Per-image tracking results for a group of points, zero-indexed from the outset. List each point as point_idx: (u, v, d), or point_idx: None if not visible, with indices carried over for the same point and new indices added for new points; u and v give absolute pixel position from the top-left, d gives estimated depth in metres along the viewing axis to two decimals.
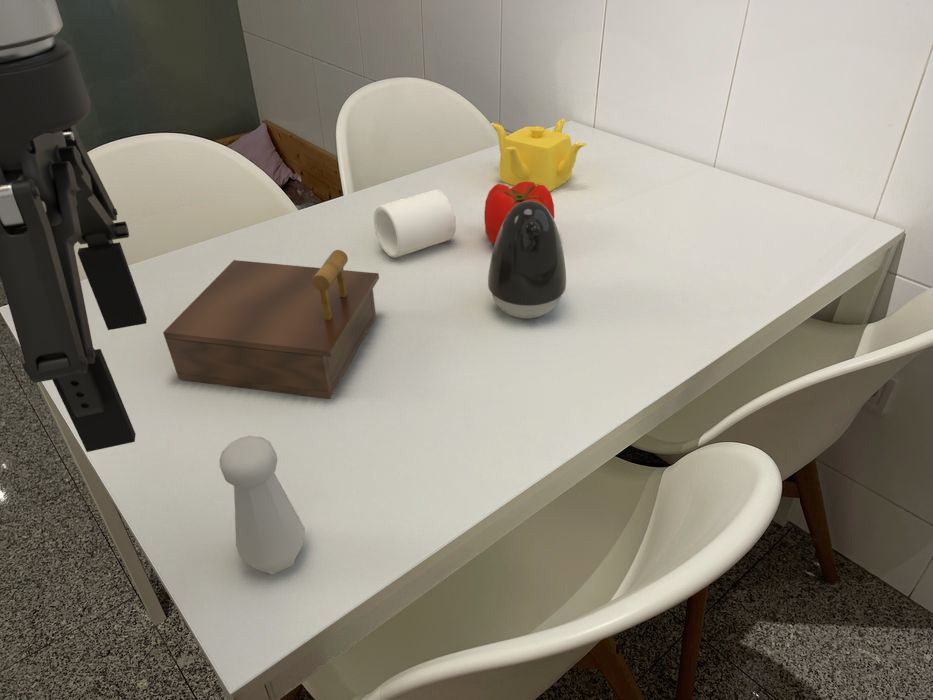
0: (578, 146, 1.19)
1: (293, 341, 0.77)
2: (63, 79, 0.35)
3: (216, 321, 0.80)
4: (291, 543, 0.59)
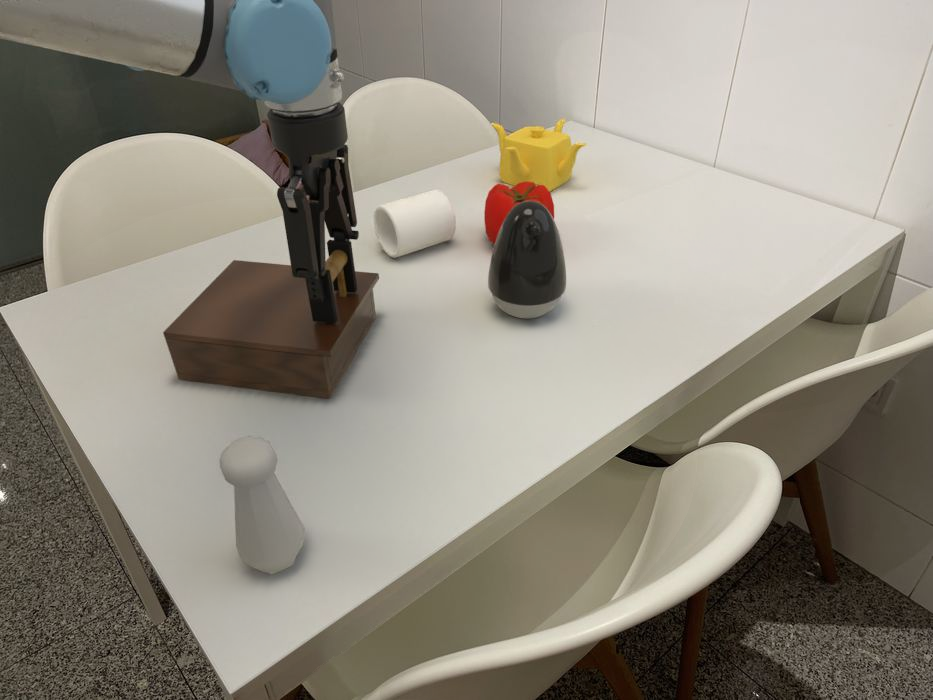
0: (578, 146, 1.19)
1: (293, 341, 0.77)
2: (332, 128, 0.67)
3: (216, 321, 0.80)
4: (291, 543, 0.59)
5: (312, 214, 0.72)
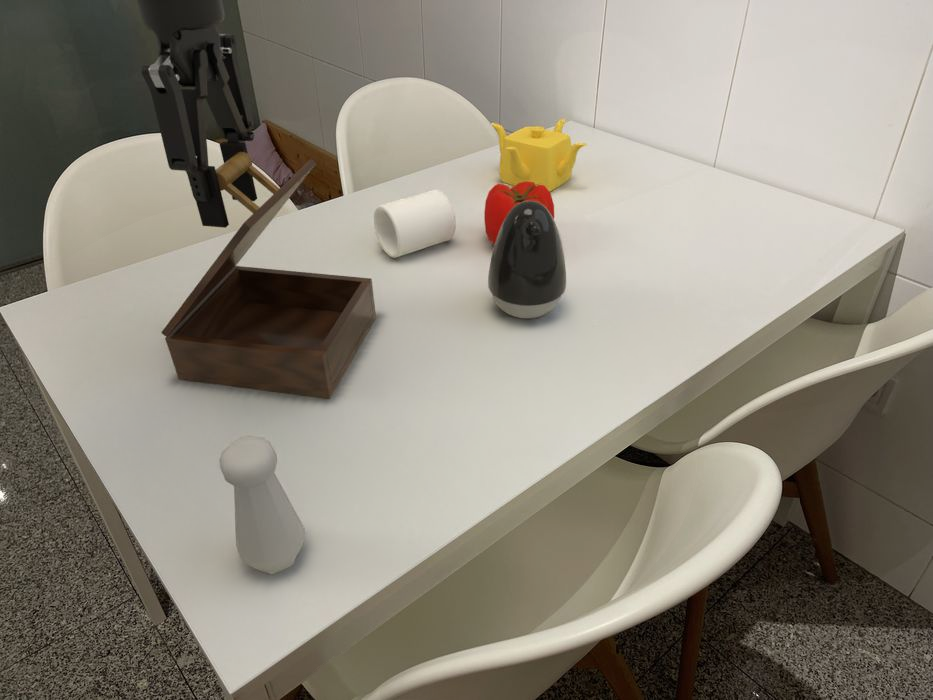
0: (578, 146, 1.19)
1: None
2: (200, 0, 0.63)
3: None
4: (291, 543, 0.59)
5: (189, 101, 0.67)
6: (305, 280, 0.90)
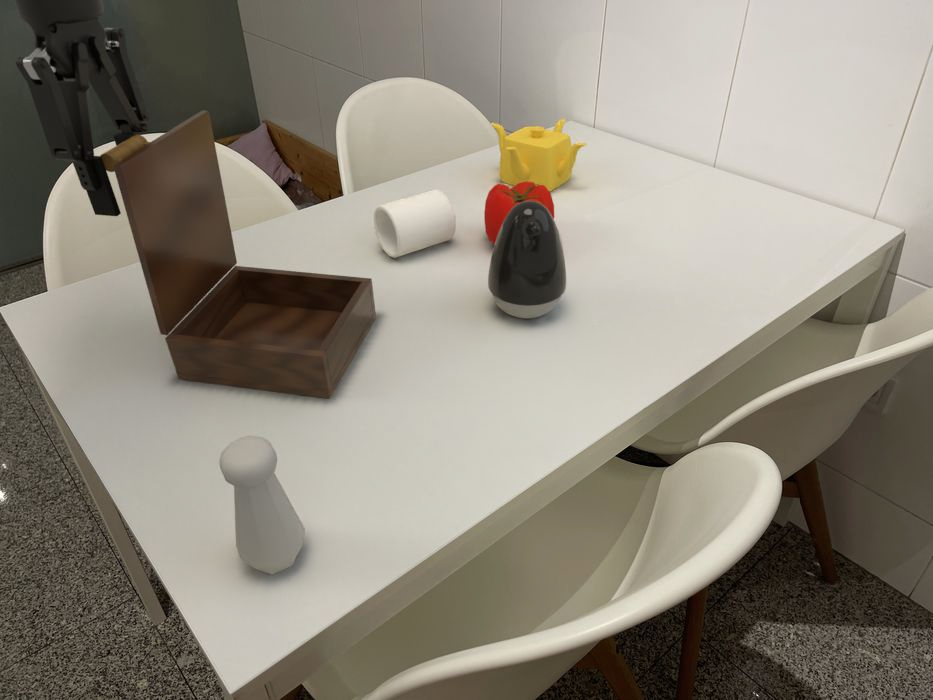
0: (578, 146, 1.19)
1: None
2: None
3: None
4: (291, 543, 0.59)
5: (70, 92, 0.69)
6: (305, 280, 0.90)
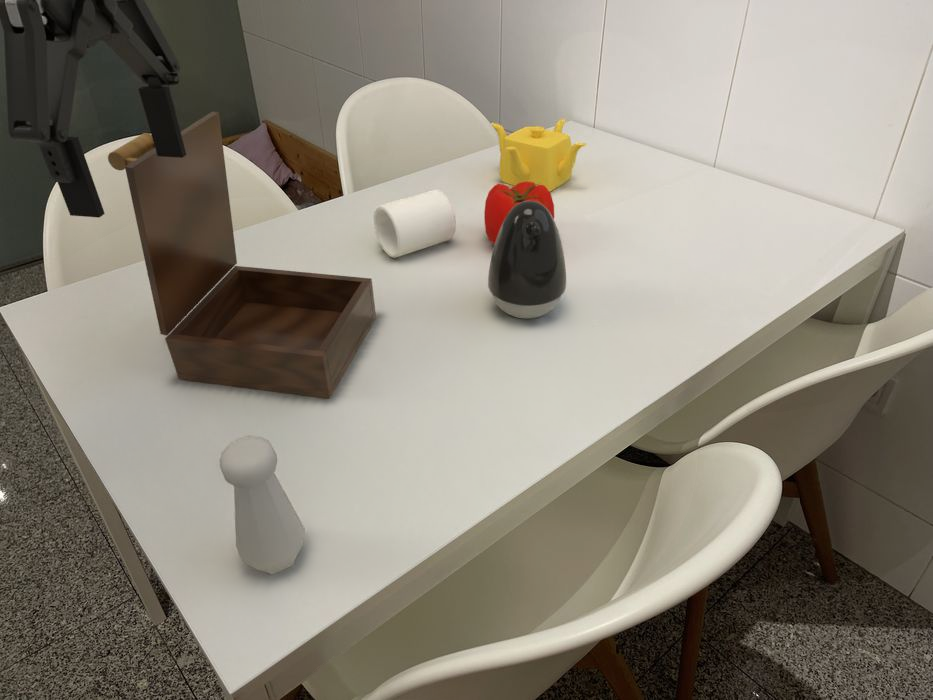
0: (578, 146, 1.19)
1: None
2: None
3: None
4: (291, 543, 0.59)
5: (58, 54, 0.53)
6: (305, 280, 0.90)
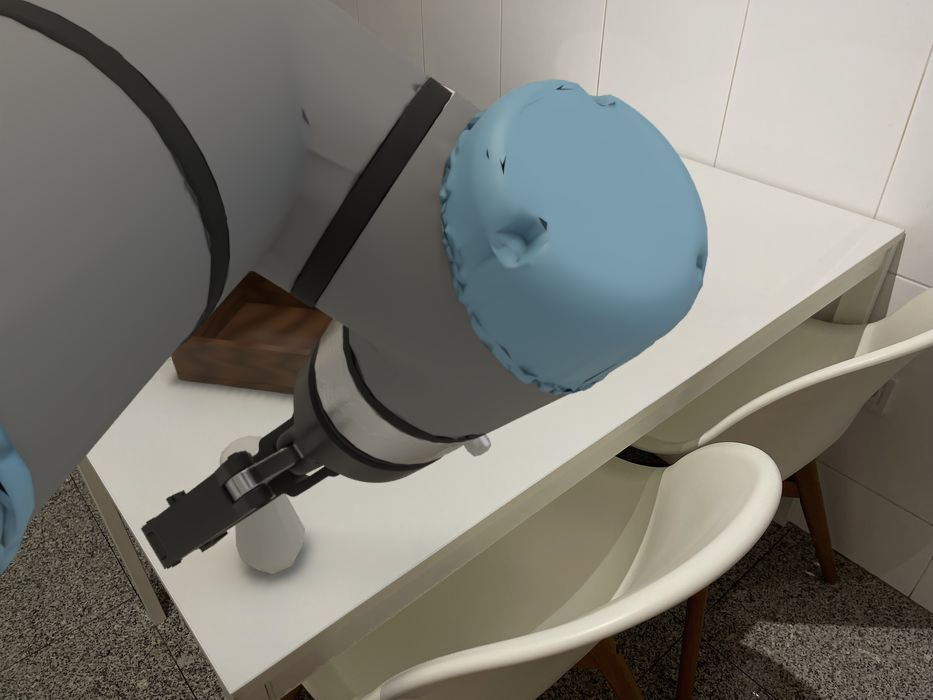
0: None
1: None
2: (394, 475, 0.30)
3: None
4: (291, 543, 0.59)
5: (272, 481, 0.35)
6: None
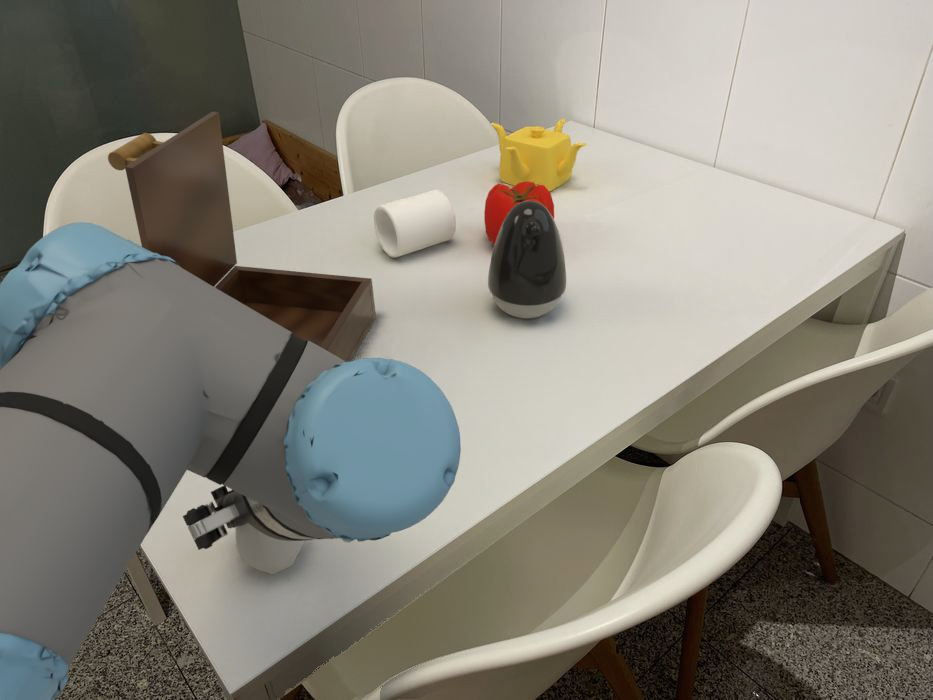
0: (578, 146, 1.19)
1: None
2: None
3: None
4: (291, 543, 0.59)
5: None
6: (305, 280, 0.90)
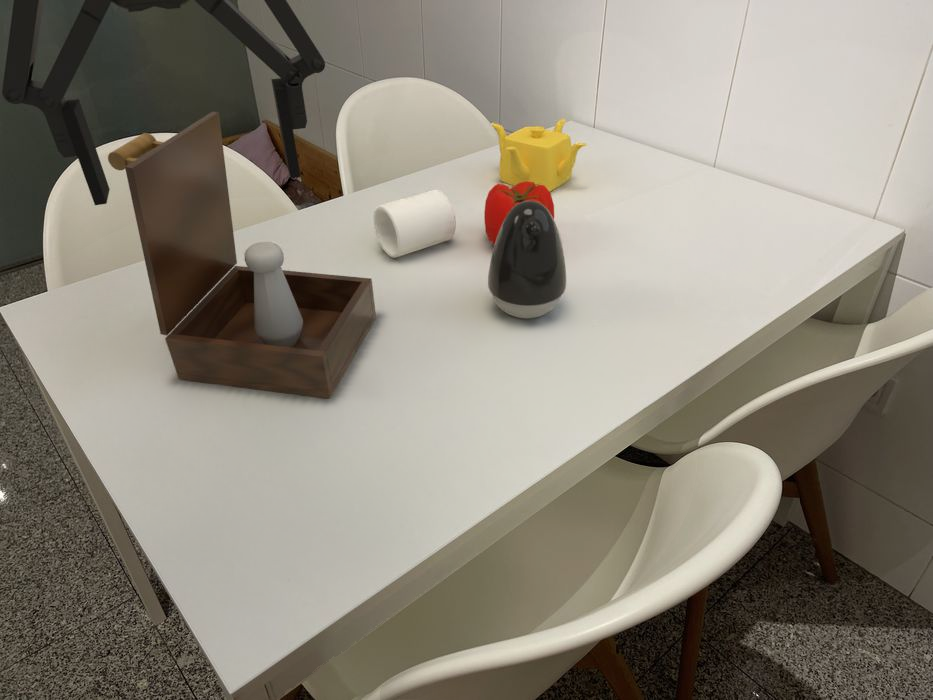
0: (578, 146, 1.19)
1: None
2: None
3: None
4: (292, 323, 0.84)
5: None
6: (305, 280, 0.90)
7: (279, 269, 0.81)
